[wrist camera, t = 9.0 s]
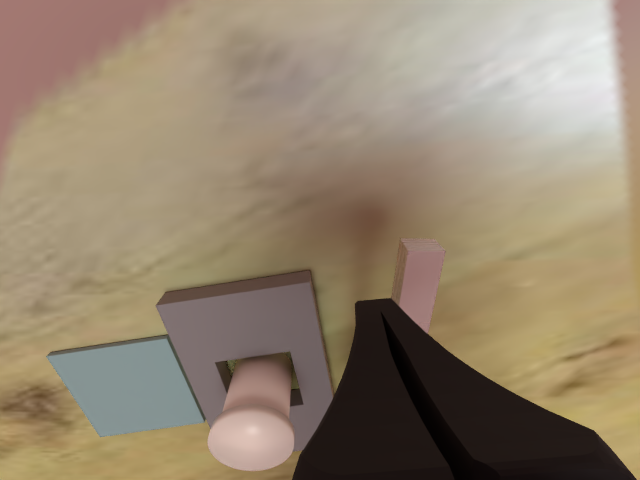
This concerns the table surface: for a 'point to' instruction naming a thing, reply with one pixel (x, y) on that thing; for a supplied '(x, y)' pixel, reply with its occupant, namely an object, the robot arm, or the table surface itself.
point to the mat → (129, 385)
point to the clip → (418, 278)
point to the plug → (255, 415)
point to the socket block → (251, 340)
